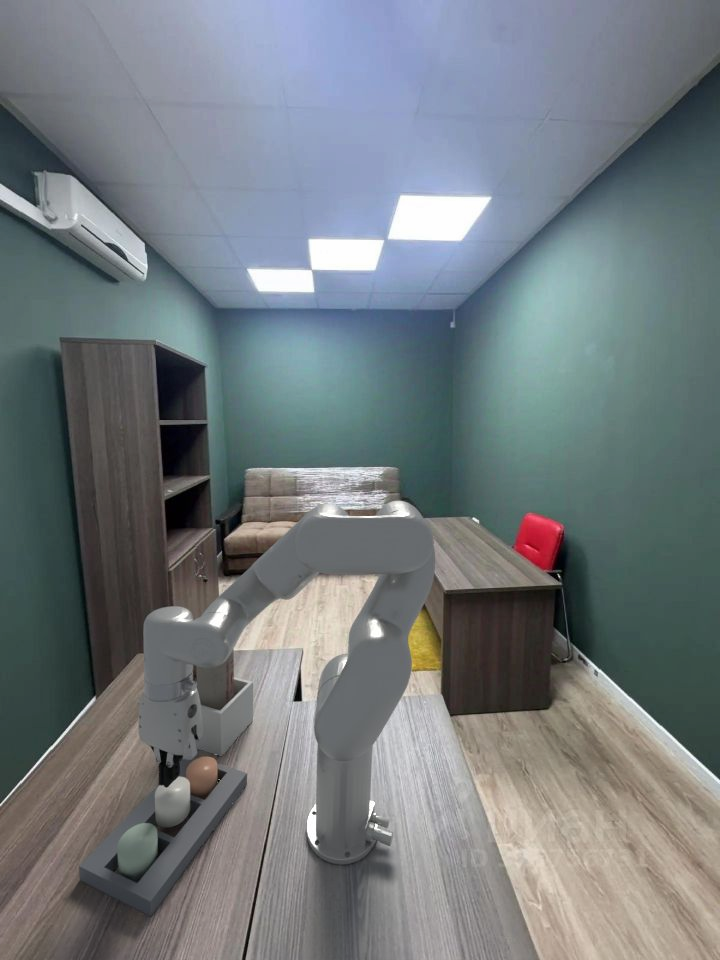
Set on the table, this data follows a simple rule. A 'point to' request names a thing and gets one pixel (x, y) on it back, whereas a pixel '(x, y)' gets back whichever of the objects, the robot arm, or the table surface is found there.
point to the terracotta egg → (202, 776)
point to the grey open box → (227, 719)
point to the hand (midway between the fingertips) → (169, 779)
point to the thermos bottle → (216, 684)
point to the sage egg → (137, 851)
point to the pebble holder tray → (161, 844)
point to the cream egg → (172, 803)
